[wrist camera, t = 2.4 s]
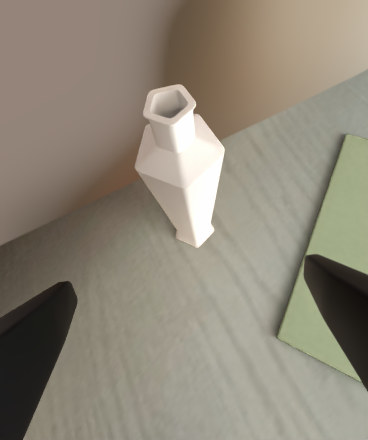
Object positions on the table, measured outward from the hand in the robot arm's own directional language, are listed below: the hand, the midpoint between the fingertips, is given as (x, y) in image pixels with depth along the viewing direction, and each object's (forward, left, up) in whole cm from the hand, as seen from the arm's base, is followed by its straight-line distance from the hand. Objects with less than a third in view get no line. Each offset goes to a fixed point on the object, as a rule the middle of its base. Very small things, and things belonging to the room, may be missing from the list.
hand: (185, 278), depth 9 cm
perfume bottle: (+5, +4, -13) cm, 15 cm away
